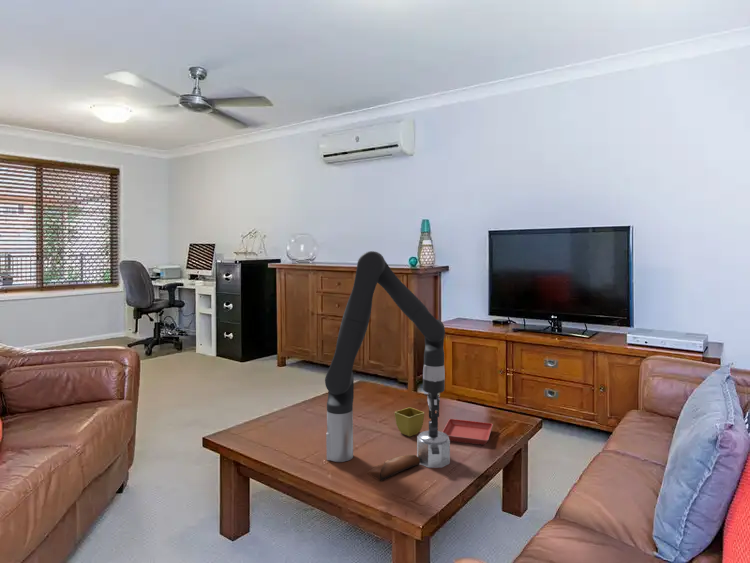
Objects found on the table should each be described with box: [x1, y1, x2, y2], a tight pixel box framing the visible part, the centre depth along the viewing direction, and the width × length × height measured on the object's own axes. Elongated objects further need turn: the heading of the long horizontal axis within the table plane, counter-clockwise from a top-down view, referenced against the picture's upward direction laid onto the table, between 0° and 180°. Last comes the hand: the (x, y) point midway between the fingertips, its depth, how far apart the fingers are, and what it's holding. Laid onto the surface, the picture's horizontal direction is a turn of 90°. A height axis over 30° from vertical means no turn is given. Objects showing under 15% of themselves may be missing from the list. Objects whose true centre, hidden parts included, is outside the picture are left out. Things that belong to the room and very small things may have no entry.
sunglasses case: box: [366, 454, 421, 482], centre depth 169 cm, size 18×7×7 cm
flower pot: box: [394, 406, 425, 437], centre depth 201 cm, size 9×9×9 cm
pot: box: [416, 434, 451, 469], centre depth 176 cm, size 11×17×8 cm, turn 179°
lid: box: [418, 419, 448, 444], centre depth 175 cm, size 10×10×8 cm
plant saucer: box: [441, 418, 494, 446], centre depth 199 cm, size 18×18×3 cm
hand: (433, 422), depth 175 cm, fingers open, 8 cm apart
